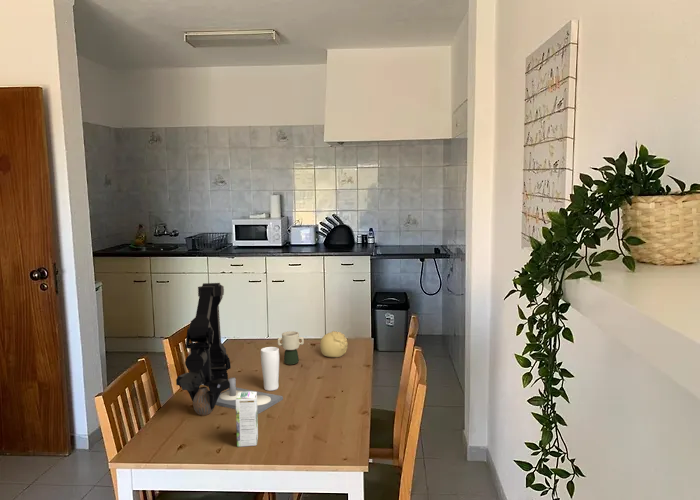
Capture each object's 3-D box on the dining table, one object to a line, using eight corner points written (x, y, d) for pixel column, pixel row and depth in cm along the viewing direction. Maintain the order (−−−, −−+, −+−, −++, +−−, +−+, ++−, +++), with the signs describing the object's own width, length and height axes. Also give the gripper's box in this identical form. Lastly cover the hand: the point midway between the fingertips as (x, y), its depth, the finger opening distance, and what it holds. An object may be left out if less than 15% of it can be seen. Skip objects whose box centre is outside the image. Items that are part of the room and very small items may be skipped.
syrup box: (239, 438, 171) (236, 391, 169) (259, 437, 171) (256, 390, 170) (236, 447, 165) (234, 398, 164) (257, 446, 166) (255, 397, 164)
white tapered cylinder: (277, 392, 208) (275, 352, 206) (259, 391, 209) (257, 351, 207) (283, 385, 214) (281, 347, 213) (265, 385, 216) (264, 346, 214)
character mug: (304, 360, 245) (303, 330, 243) (304, 365, 238) (303, 335, 236) (278, 361, 244) (277, 331, 242) (278, 366, 237) (277, 336, 235)
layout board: (207, 403, 199) (206, 382, 198) (233, 390, 211) (232, 370, 210) (258, 414, 189) (257, 392, 188) (282, 399, 201) (282, 379, 200)
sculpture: (347, 359, 245) (347, 334, 244) (319, 359, 245) (318, 335, 244) (348, 351, 256) (347, 328, 255) (321, 352, 256) (320, 328, 255)
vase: (219, 410, 193) (217, 385, 192) (207, 418, 186) (206, 392, 185) (201, 408, 195) (199, 383, 194) (189, 415, 189) (187, 390, 188)
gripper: (162, 365, 186) (165, 411, 188) (206, 372, 177) (208, 421, 179) (187, 355, 196) (189, 399, 198) (229, 362, 187) (232, 408, 189)
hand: (204, 407), depth 190 cm, fingers closed on vase, 7 cm apart
